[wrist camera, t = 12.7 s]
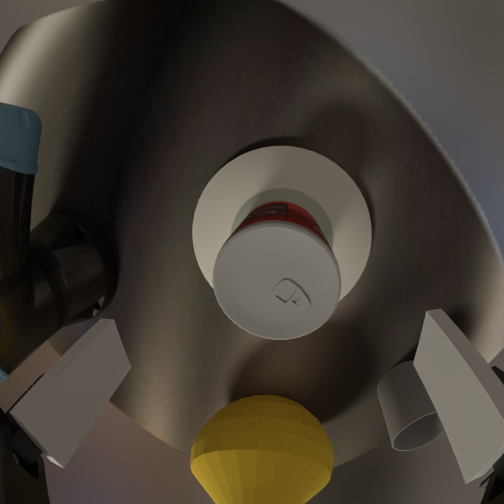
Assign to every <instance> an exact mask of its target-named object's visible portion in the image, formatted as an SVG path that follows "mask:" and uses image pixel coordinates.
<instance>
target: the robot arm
mask: <svg viewBox="0 0 504 504" xmlns="http://www.w3.org/2000/svg"><path fill="white" fill-rule="evenodd" d="M41 131H42V125H41V120H40V118H39V116H38V115H37V114H36V113H35V112H34V111H33V110H30V109H27V108H23V107H19V106H15V105H10V104H6V103H1V102H0V382H1V381H3V380H4V379H5V378H8V377H10V374H11V373H12V372H13V371H14V370H15V369H16V368H17V367H18V366H19V365H21V364H22V363H23V361H25V360H26V359H27V358H28V357H29V356H30V355H31V354H32V353H33V352H34V351H36V350H37V349H38V348H39V347H40V346H41V345H42V344H43V343H44V342H45V341H47V340H48V339H49V338H50V337H51V336H52V335H54V334H55V333H56V332H57V331H58V330H60V329H61V328H62V327H65V326H68V325H72V324H75V323H79V322H82V321H86V320H89V319H92V318H94V317H96V316H97V315H99V314H100V313H101V312H102V311H103V310H104V309H106V308H107V307H108V305H109V304H110V303H111V301H112V299H113V296H114V293H115V288H116V271H115V265H114V261H113V257H112V254H111V251H110V249H109V247H108V244H107V242H106V240H105V239H104V237H103V235H102V234H101V232H100V231H99V230H98V228H97V227H96V226H95V225H94V224H93V223H92V222H91V221H90V220H89V219H88V218H86V217H85V216H83V215H82V214H80V213H77V212H74V211H62V212H59V213H55V214H52V215H50V216H48V217H46V218H45V219H44V220H43V221H41V222H40V223H39V224H38V225H37V226H36V227H35V228H34V229H33V230H32V231H31V232H30V222H31V207H32V196H33V187H34V179H35V173H37V170H38V164H37V157H38V150H39V143H40V137H41ZM413 365H414V367H415V369H416V371H417V373H418V375H419V376H420V378H421V380H422V382H423V384H424V386H425V388H426V390H427V392H428V394H429V397H430V399H431V401H432V403H433V405H434V407H435V409H436V411H437V413H438V416H439V418H440V420H441V422H442V425H443V427H444V429H445V431H446V434H447V436H448V439H449V441H450V443H451V446H452V448H453V451H454V453H455V456H456V458H457V461H458V463H459V466H460V469H461V472H462V474H463V478H464V480H465V483H468V482H471V481H473V480H474V479H476V478H478V477H480V476H482V475H484V474H485V473H486V472H487V471H488V470H489V469H490V468H491V467H492V466H493V468H494V470H495V471H494V472H493V473H492V474H490V475H489V476H488V477H487V478H486V479H485V480H484V481H483V482H482V483H481V485H480V486H479V488H482V487H483V486H484V485H485V484H486V483H488V485H487V486H486V487H485V489H486V491H485V493H484V496H483V499H482V501H481V504H504V372H503V371H502V370H500V369H499V368H497V367H496V366H493V367H490V366H489V365H488V363H487V362H486V361H485V359H484V358H483V357H482V356H481V354H480V353H479V352H478V351H477V349H476V348H475V347H474V346H473V345H472V343H471V342H470V341H469V340H468V339H467V337H466V336H465V335H464V334H463V333H462V331H461V330H460V329H459V328H458V327H457V326H456V325H455V323H454V322H453V321H452V320H451V319H450V318H449V317H448V316H447V315H446V313H445V312H444V311H443V310H442V309H436V310H429V311H426V315H425V320H424V324H423V328H422V333H421V337H420V340H419V344H418V348H417V351H416V355H415V358H414V362H413ZM130 369H131V365H130V363H129V360H128V358H127V355H126V353H125V350H124V347H123V345H122V342H121V339H120V336H119V334H118V331H117V328H116V325H115V322H114V320H112V319H100V320H99V321H98V322H97V323H96V324H95V325H94V326H93V327H92V328H91V329H90V330H88V331H87V332H86V333H85V334H84V335H83V336H82V337H81V338H80V339H79V340H78V341H77V342H76V343H75V344H74V345H73V346H72V347H71V348H70V349H69V350H68V351H67V352H66V353H65V354H64V355H63V356H62V357H61V358H60V359H59V360H58V361H57V362H56V363H55V364H54V365H53V366H52V367H51V368H50V369H49V370H48V371H47V372H46V373H44V374H43V375H41V376H40V377H39V378H38V379H37V380H36V381H35V382H34V383H33V385H31V386H30V387H29V388H28V391H26V392H25V393H24V394H23V395H22V396H21V397H20V398H19V399H18V400H17V402H15V404H14V405H13V406H12V407H11V408H10V409H9V410H8V411H7V412H6V413H4V412H3V410H2V409H1V408H0V504H50V501H49V496H48V490H47V484H46V477H45V468H44V461H43V458H42V457H41V456H40V455H41V453H42V452H43V453H44V454H45V455H46V457H47V458H48V459H49V460H50V461H52V462H53V463H55V464H57V465H59V466H60V467H62V468H65V466H66V465H67V463H68V461H69V460H70V458H71V457H72V455H73V454H74V452H75V451H76V449H77V447H78V446H79V444H80V443H81V441H82V440H83V438H84V437H85V435H86V434H87V432H88V431H89V429H90V427H91V426H92V424H93V423H94V421H95V420H96V418H97V417H98V415H99V414H100V412H101V411H102V409H103V408H104V407H105V405H106V404H107V402H108V401H109V399H110V398H111V396H112V395H113V393H114V392H115V390H116V389H117V387H118V386H119V385H120V383H121V382H122V380H123V379H124V377H125V376H126V374H127V373H128V372H129V370H130Z"/></svg>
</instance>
